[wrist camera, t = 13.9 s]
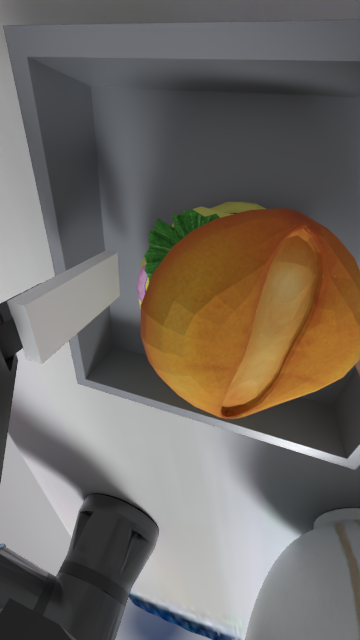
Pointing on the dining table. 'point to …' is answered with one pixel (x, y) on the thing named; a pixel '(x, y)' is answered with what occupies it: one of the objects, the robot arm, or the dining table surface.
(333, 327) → the cheeseburger
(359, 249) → the bin
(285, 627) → the decorative bowl
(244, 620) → the dining table surface
